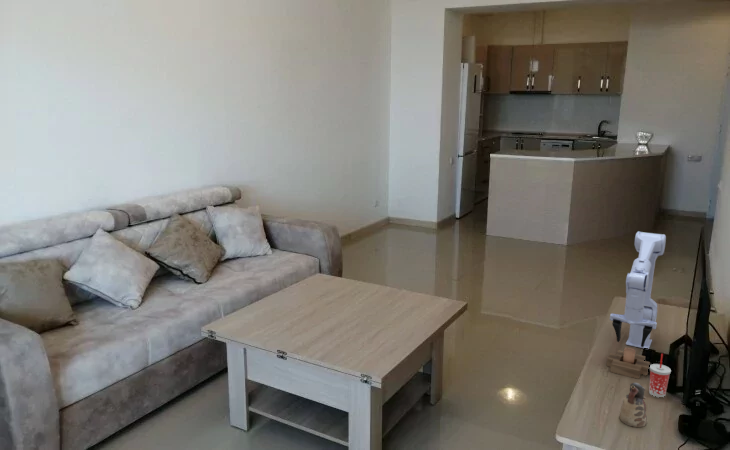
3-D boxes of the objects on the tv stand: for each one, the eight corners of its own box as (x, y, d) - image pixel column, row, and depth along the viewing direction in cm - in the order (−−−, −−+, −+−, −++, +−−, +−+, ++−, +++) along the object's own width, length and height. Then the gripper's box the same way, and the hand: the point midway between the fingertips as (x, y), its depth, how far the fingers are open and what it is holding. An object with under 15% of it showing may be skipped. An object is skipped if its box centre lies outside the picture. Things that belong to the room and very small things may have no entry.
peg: (623, 364, 201) (625, 346, 199) (634, 367, 199) (636, 349, 197) (621, 368, 198) (623, 350, 196) (632, 371, 196) (634, 352, 194)
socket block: (611, 356, 207) (612, 348, 206) (650, 365, 200) (651, 357, 199) (604, 370, 196) (605, 362, 196) (645, 380, 189) (646, 372, 189)
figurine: (651, 422, 165) (655, 385, 162) (636, 430, 161) (641, 392, 159) (628, 411, 171) (632, 375, 168) (614, 418, 167) (618, 381, 164)
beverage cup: (667, 400, 177) (672, 359, 174) (645, 395, 180) (650, 355, 177) (668, 392, 182) (673, 352, 179) (647, 387, 185) (652, 347, 182)
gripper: (609, 305, 194) (605, 342, 197) (656, 314, 186) (651, 352, 189) (613, 299, 200) (609, 335, 203) (659, 308, 192) (654, 345, 195)
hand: (630, 343), depth 196 cm, fingers open, 7 cm apart
